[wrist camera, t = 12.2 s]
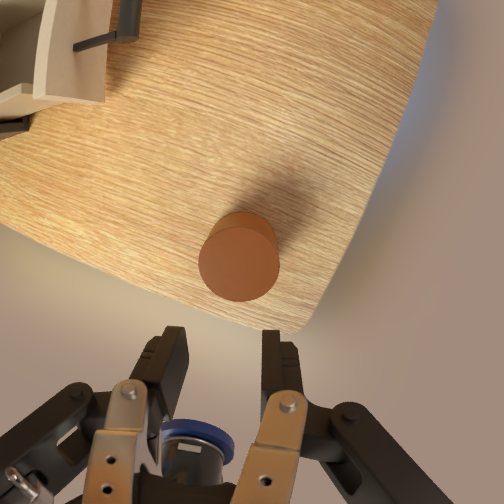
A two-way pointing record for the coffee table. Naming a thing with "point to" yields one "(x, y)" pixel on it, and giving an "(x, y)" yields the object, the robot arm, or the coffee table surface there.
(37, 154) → the coffee table surface
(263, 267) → the orange brown cylinder
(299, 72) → the coffee table surface
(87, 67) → the drawer
